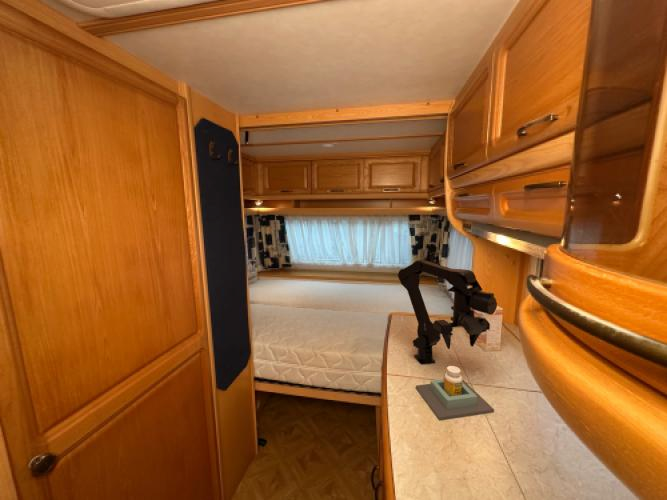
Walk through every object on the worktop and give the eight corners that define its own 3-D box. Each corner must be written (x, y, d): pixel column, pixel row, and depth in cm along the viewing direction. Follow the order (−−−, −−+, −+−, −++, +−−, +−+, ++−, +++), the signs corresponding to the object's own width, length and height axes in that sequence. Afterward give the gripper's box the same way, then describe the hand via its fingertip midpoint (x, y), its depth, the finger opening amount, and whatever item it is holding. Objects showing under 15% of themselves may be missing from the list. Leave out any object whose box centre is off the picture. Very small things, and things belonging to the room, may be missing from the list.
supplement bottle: (450, 389, 92) (451, 362, 91) (464, 398, 87) (466, 370, 86) (439, 394, 89) (441, 367, 88) (454, 404, 85) (456, 375, 83)
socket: (415, 388, 94) (416, 377, 94) (462, 382, 97) (463, 371, 97) (439, 420, 80) (439, 408, 79) (493, 412, 82) (494, 400, 82)
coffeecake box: (465, 336, 133) (468, 297, 130) (480, 335, 133) (482, 297, 130) (485, 351, 118) (487, 308, 115) (500, 351, 118) (503, 308, 116)
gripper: (451, 316, 86) (449, 362, 88) (503, 311, 89) (500, 356, 92) (433, 304, 97) (431, 345, 99) (480, 301, 100) (477, 341, 102)
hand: (460, 347), depth 98 cm, fingers open, 9 cm apart
